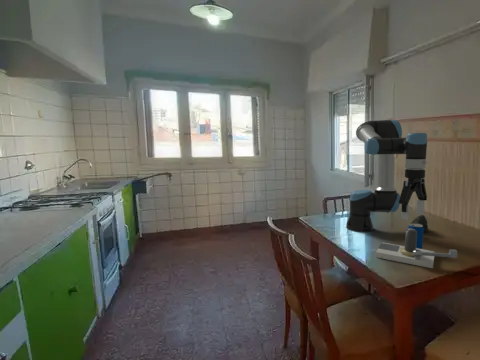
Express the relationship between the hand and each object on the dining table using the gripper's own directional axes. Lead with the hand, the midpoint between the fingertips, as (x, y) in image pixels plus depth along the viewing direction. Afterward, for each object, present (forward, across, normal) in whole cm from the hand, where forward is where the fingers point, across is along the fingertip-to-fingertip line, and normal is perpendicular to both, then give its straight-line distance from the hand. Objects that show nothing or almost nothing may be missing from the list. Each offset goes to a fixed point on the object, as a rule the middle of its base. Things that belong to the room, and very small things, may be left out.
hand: (412, 216), depth 129 cm
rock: (+20, +46, +18) cm, 53 cm away
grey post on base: (+20, 0, 0) cm, 20 cm away
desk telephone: (+20, +1, +3) cm, 20 cm away
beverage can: (+20, +15, +5) cm, 25 cm away
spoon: (+15, +1, -9) cm, 18 cm away
